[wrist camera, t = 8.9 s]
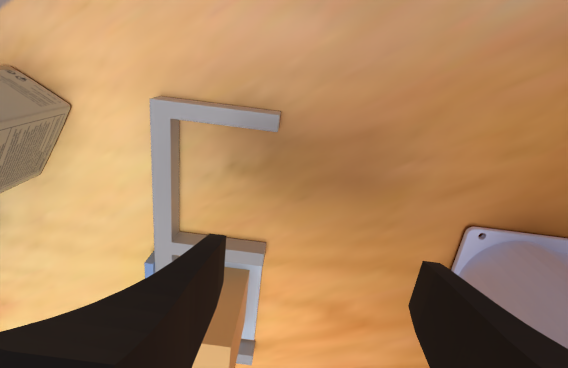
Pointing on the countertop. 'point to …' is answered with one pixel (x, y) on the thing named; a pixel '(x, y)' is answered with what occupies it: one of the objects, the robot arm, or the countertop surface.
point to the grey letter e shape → (167, 195)
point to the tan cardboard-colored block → (225, 323)
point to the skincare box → (26, 126)
